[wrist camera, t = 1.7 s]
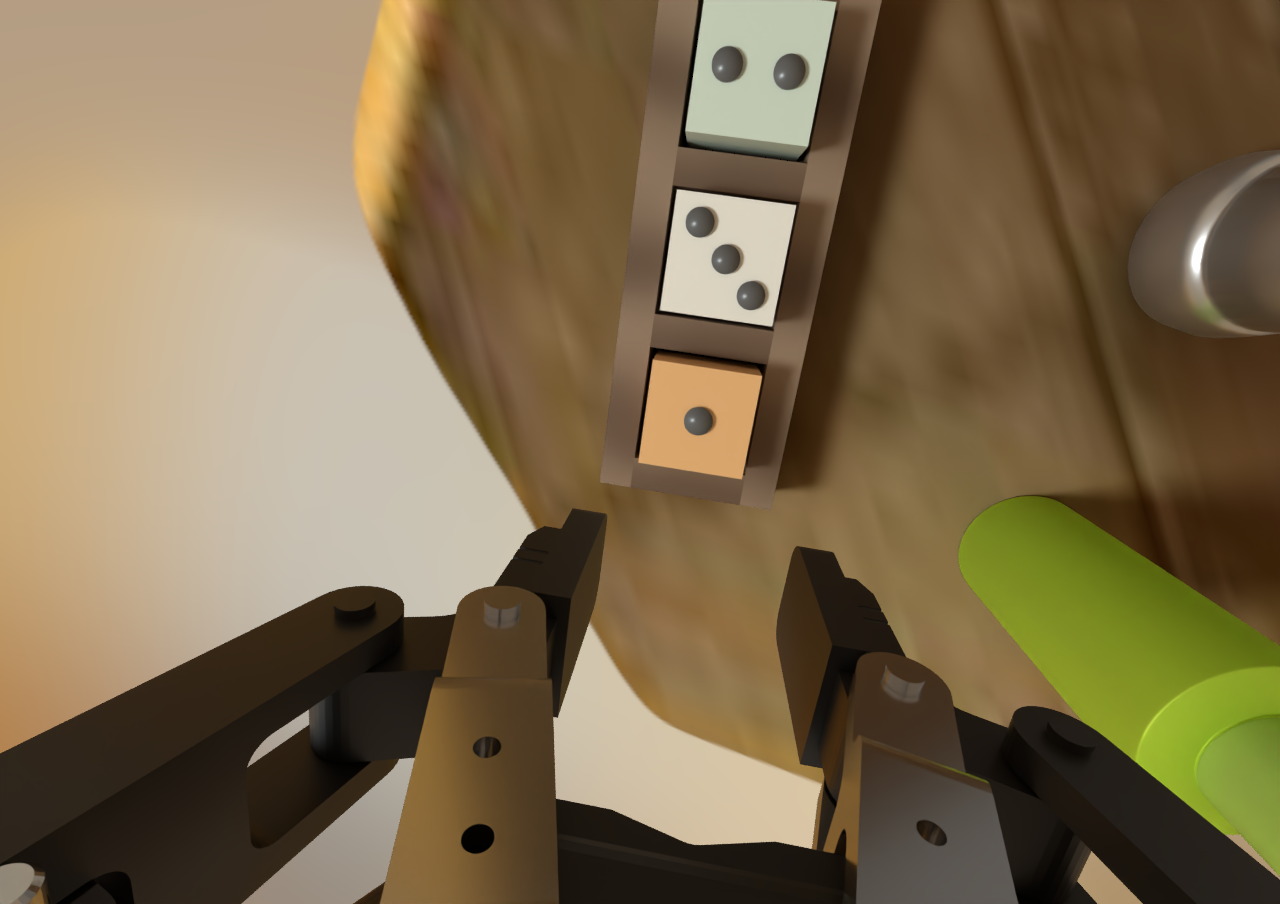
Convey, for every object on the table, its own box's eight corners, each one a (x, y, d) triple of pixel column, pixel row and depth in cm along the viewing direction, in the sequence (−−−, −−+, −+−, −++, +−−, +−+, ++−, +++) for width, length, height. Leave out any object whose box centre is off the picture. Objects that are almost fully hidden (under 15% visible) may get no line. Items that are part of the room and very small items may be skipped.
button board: (669, -25, 24) (665, -57, 22) (870, -2, 24) (888, -32, 21) (607, 465, 31) (599, 482, 28) (765, 491, 30) (770, 510, 28)
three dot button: (680, 198, 26) (677, 188, 23) (785, 212, 25) (796, 205, 22) (664, 305, 27) (659, 310, 24) (765, 320, 27) (772, 326, 24)
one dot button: (658, 350, 28) (652, 360, 25) (756, 365, 27) (762, 376, 24) (645, 443, 29) (637, 463, 26) (738, 458, 29) (741, 480, 26)
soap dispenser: (1131, 524, 29) (1970, 1027, 10) (1022, 625, 31) (1537, 1202, 12) (1036, 455, 28) (1723, 839, 9) (932, 561, 30) (1317, 1056, 11)
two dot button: (705, 21, 24) (705, -15, 21) (820, 34, 23) (837, 0, 20) (687, 146, 25) (685, 129, 22) (795, 160, 25) (808, 145, 22)
